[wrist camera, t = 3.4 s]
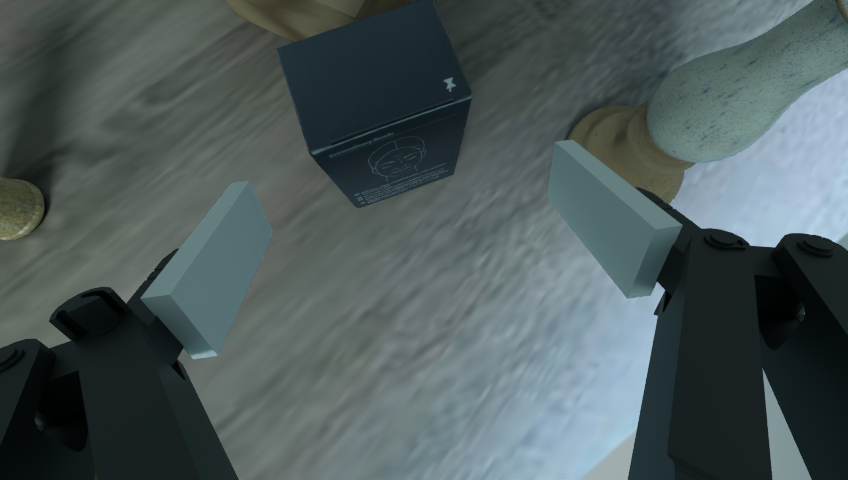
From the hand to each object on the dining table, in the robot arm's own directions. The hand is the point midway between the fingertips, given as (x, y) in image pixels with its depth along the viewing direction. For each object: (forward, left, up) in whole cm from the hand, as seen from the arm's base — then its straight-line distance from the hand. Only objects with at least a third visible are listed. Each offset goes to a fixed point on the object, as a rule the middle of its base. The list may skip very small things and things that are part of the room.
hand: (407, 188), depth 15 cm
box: (-3, +4, -10) cm, 12 cm away
